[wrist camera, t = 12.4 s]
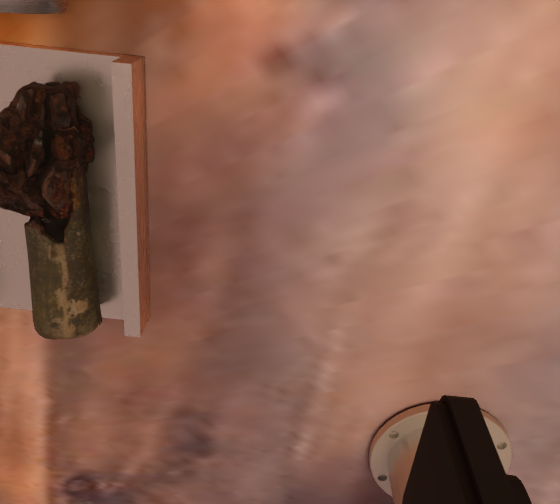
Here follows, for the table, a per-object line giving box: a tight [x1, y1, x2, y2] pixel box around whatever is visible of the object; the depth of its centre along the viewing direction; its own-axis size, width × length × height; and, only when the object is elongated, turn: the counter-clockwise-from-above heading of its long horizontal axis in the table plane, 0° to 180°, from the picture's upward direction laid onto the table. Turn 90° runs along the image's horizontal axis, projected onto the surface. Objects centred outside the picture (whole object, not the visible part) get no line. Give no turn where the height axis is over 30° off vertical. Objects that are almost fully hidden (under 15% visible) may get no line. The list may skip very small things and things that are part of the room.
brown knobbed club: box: [0, 81, 102, 339], centre depth 36 cm, size 18×7×6 cm, turn 173°
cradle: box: [0, 41, 150, 337], centre depth 38 cm, size 20×13×3 cm
